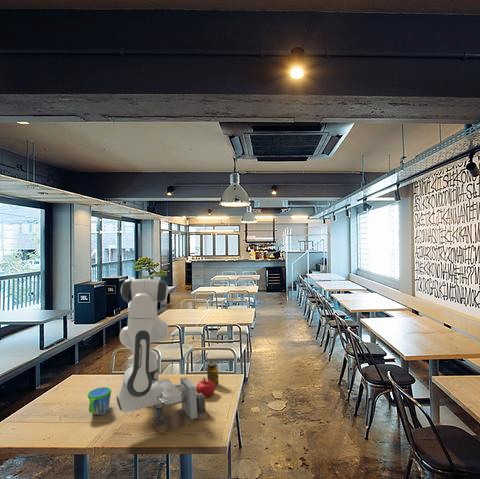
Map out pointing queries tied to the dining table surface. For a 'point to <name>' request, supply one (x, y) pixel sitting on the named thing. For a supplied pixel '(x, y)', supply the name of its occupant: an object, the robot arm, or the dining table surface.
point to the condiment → (213, 374)
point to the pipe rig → (178, 415)
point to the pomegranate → (205, 387)
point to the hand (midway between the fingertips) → (184, 386)
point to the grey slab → (189, 398)
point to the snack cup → (99, 400)
